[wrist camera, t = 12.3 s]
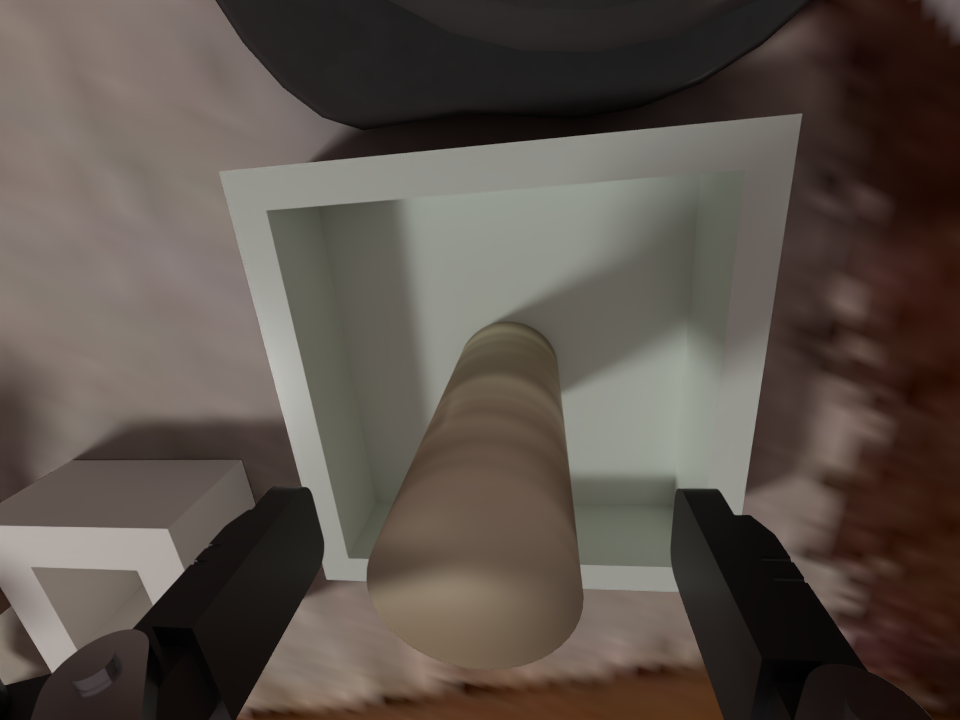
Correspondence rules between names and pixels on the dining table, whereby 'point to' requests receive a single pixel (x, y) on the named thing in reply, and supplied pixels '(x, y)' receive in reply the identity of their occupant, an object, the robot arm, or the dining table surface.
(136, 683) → the robot arm
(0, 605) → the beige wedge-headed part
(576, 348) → the tray
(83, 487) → the holder
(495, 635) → the dowel
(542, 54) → the casserole
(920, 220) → the dining table surface
